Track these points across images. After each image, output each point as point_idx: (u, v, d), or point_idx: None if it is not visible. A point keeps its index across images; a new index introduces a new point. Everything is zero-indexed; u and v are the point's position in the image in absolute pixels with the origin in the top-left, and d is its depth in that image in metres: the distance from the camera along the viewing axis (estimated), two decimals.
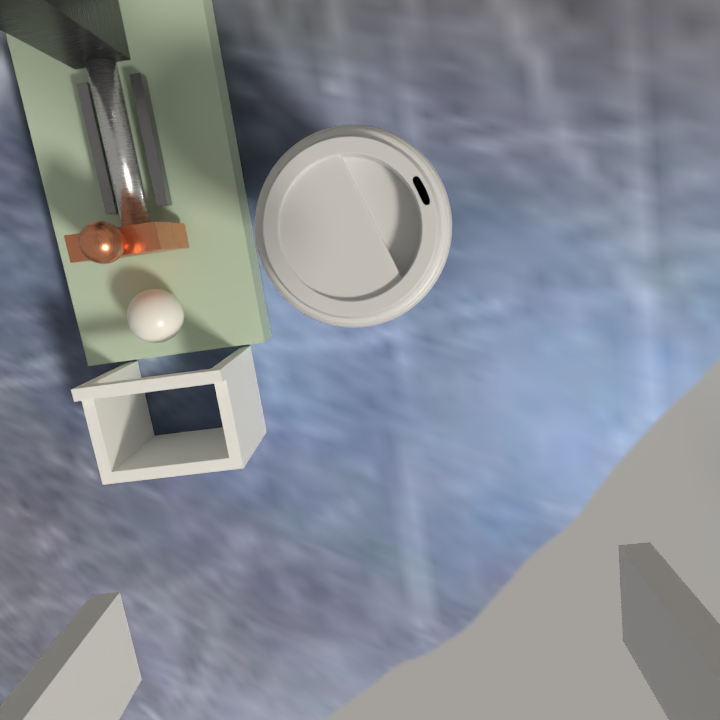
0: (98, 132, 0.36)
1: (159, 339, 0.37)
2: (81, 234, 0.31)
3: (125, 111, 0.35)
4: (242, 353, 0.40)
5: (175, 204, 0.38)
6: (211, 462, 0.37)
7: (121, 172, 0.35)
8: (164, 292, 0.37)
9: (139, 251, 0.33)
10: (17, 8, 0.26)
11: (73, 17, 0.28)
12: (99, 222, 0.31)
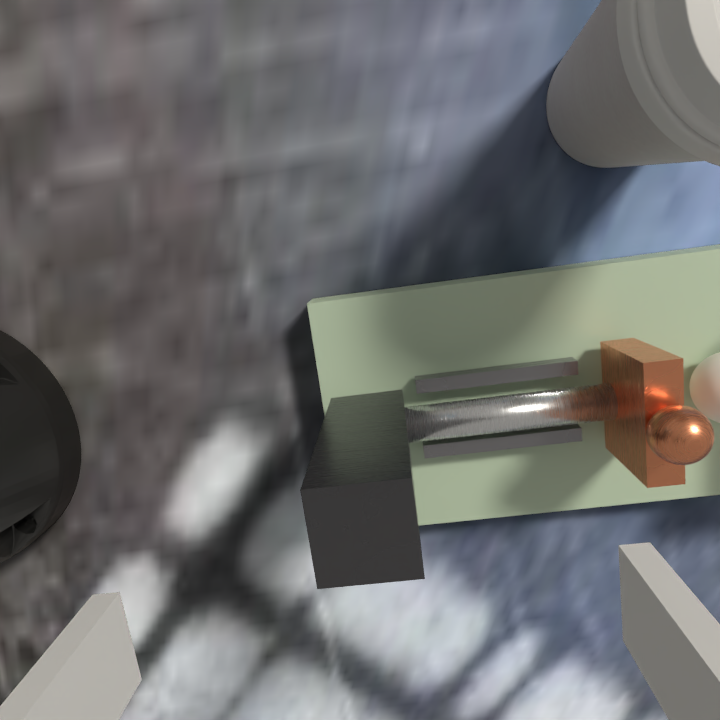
0: (481, 438, 0.29)
1: None
2: (676, 458, 0.22)
3: (463, 401, 0.28)
4: None
5: (568, 354, 0.29)
6: None
7: (543, 412, 0.27)
8: (703, 372, 0.27)
9: (682, 389, 0.23)
10: None
11: (402, 433, 0.22)
12: (656, 433, 0.22)
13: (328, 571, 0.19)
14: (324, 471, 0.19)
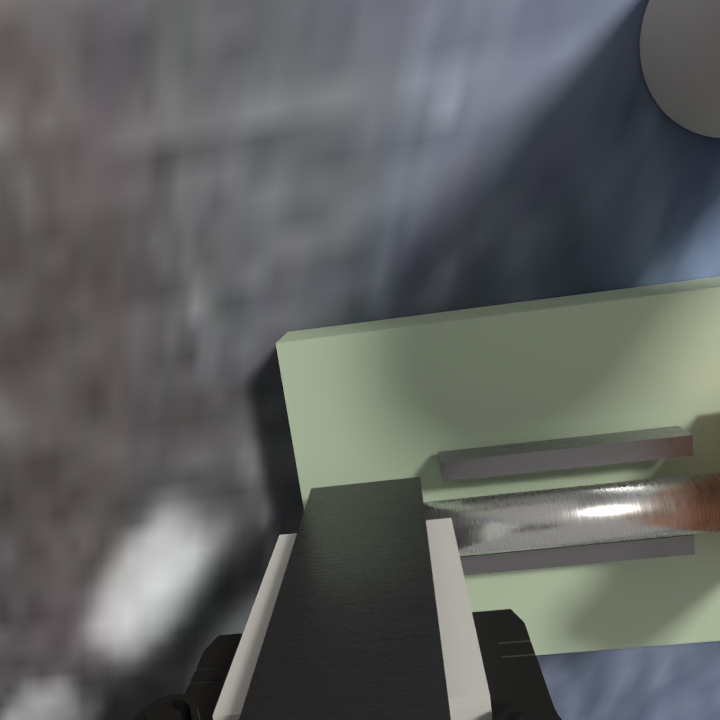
0: None
1: None
2: None
3: (514, 496, 0.18)
4: None
5: (672, 420, 0.19)
6: None
7: (643, 518, 0.17)
8: None
9: None
10: None
11: (428, 600, 0.12)
12: None
13: None
14: None
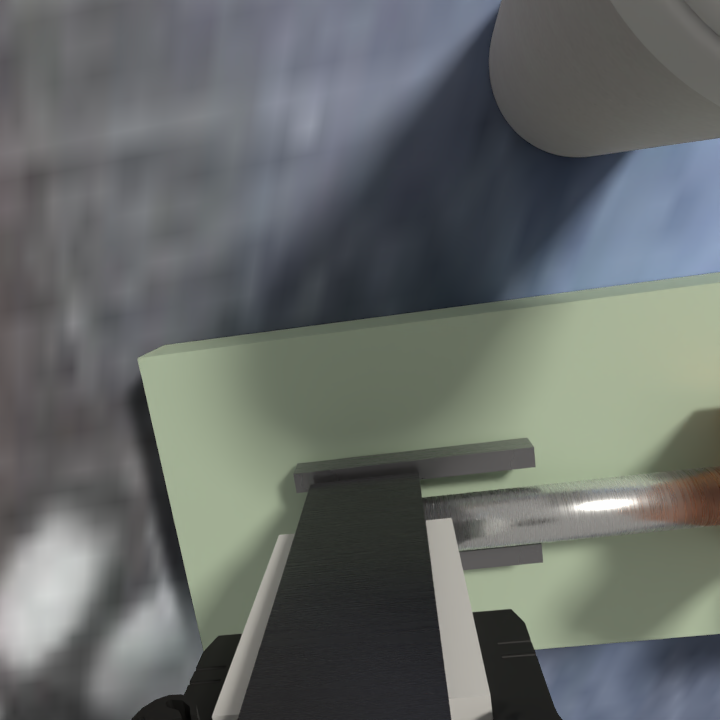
0: None
1: None
2: None
3: (512, 491, 0.18)
4: None
5: (523, 432, 0.20)
6: None
7: (640, 512, 0.17)
8: None
9: None
10: None
11: (427, 592, 0.12)
12: None
13: None
14: (276, 711, 0.10)
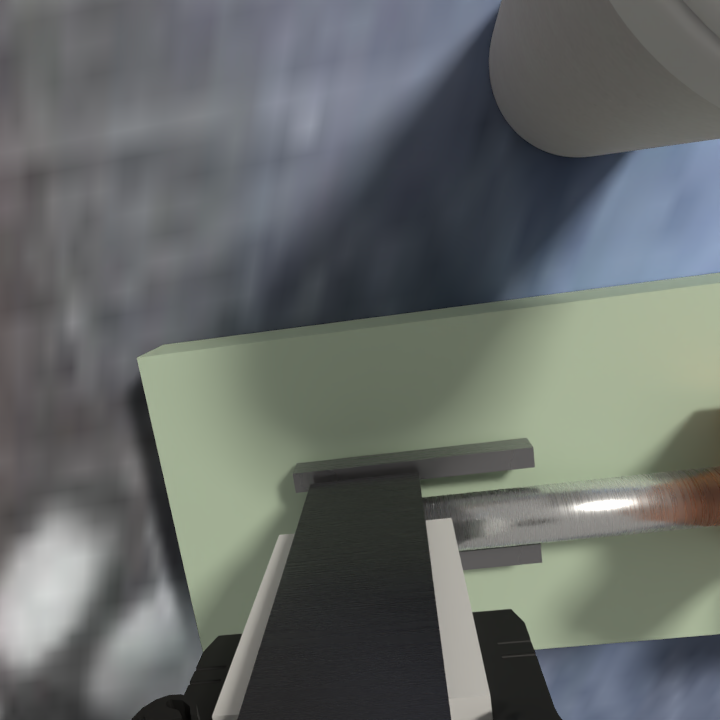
0: None
1: None
2: None
3: (512, 491, 0.18)
4: None
5: (522, 432, 0.20)
6: None
7: (640, 513, 0.17)
8: None
9: None
10: None
11: (426, 592, 0.12)
12: None
13: None
14: (276, 710, 0.10)
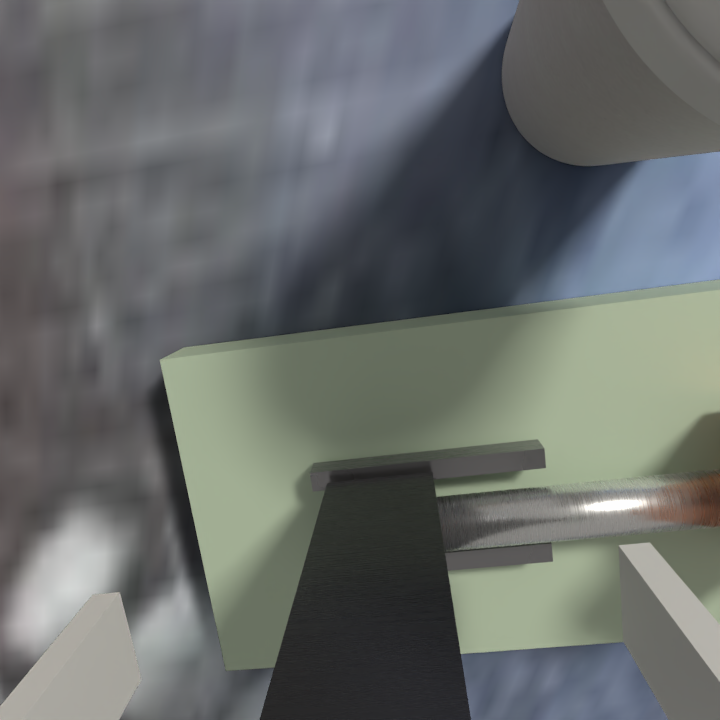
0: None
1: None
2: None
3: (524, 491, 0.19)
4: None
5: (534, 434, 0.20)
6: None
7: (649, 513, 0.18)
8: None
9: None
10: None
11: (442, 585, 0.13)
12: None
13: None
14: (301, 693, 0.10)
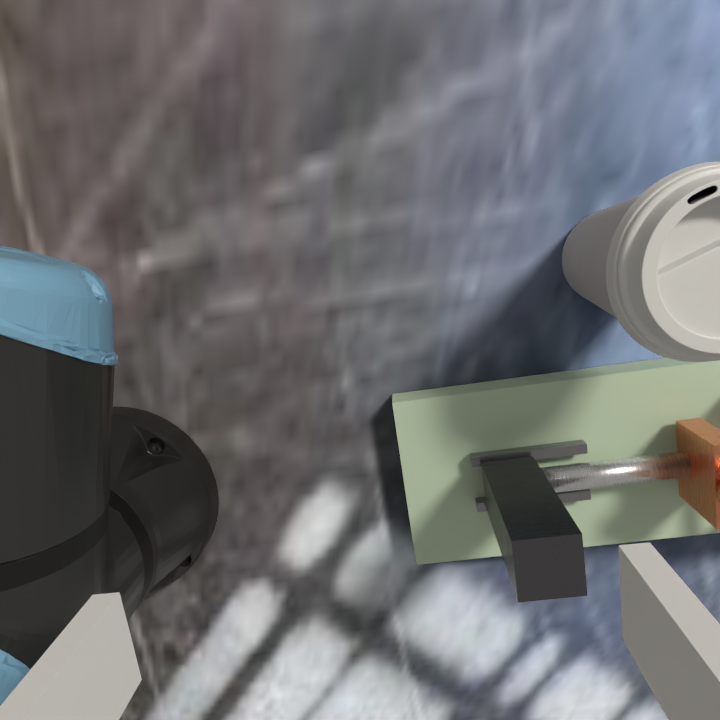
0: None
1: None
2: None
3: (577, 464, 0.39)
4: None
5: (580, 436, 0.40)
6: None
7: (637, 473, 0.38)
8: None
9: None
10: None
11: (556, 497, 0.33)
12: None
13: (525, 591, 0.30)
14: (518, 527, 0.31)
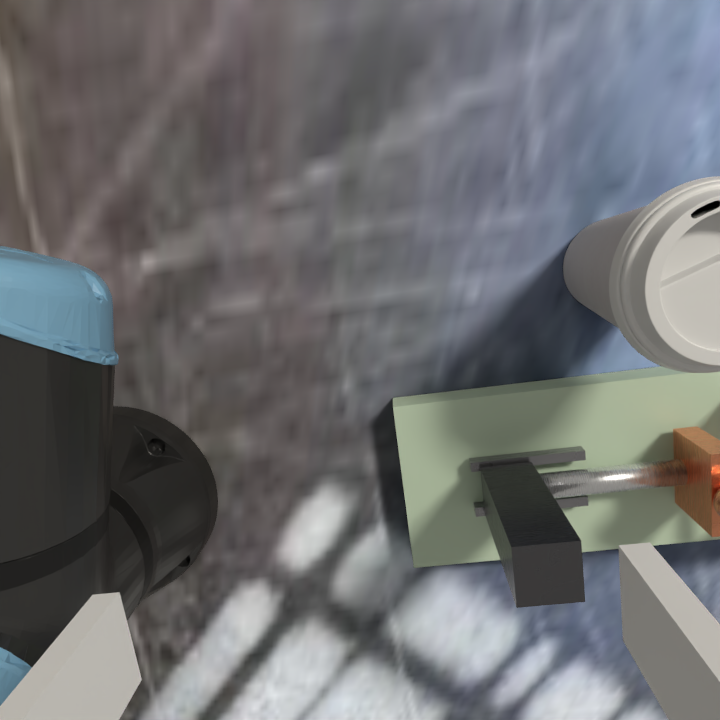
0: None
1: None
2: None
3: (575, 471, 0.39)
4: None
5: (578, 443, 0.41)
6: None
7: (634, 480, 0.38)
8: None
9: None
10: None
11: (555, 504, 0.33)
12: None
13: (524, 596, 0.30)
14: (518, 533, 0.31)
